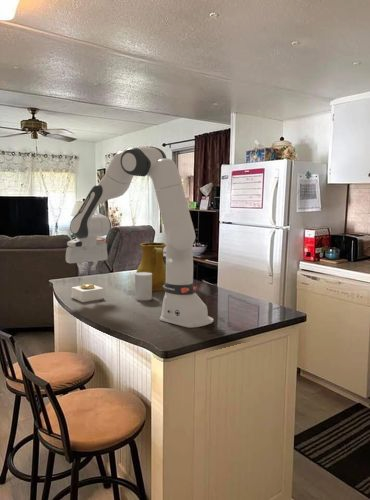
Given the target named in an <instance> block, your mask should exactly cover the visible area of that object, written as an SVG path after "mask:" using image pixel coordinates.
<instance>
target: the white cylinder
mask: <svg viewBox="0 0 370 500" xmlns="http://www.w3.org/2000/svg"><path fill="white" fill-rule="evenodd" d="M152 293H153V291H152V273H148V272H139V273H136V272H135V273H134V300H136V301H150V300H153V299H152V298H153V294H152Z"/></svg>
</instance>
